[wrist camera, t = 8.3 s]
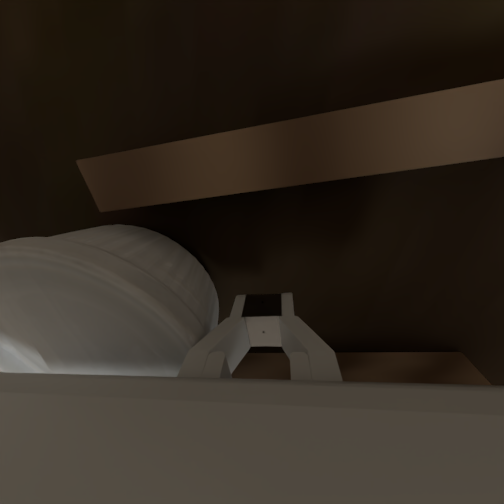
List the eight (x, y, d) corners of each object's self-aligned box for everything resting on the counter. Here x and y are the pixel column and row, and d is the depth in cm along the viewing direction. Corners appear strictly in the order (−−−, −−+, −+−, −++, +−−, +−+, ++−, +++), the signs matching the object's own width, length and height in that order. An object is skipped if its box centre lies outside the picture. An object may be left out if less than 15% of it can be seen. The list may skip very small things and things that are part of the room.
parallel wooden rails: (581, 73, 7) (727, 36, 5) (452, 371, 14) (487, 414, 11) (121, 158, 10) (75, 160, 8) (203, 369, 17) (192, 403, 14)
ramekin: (33, 258, 13) (-101, 316, 8) (152, 164, 10) (35, 174, 5) (149, 361, 17) (100, 442, 12) (264, 320, 13) (258, 410, 9)
